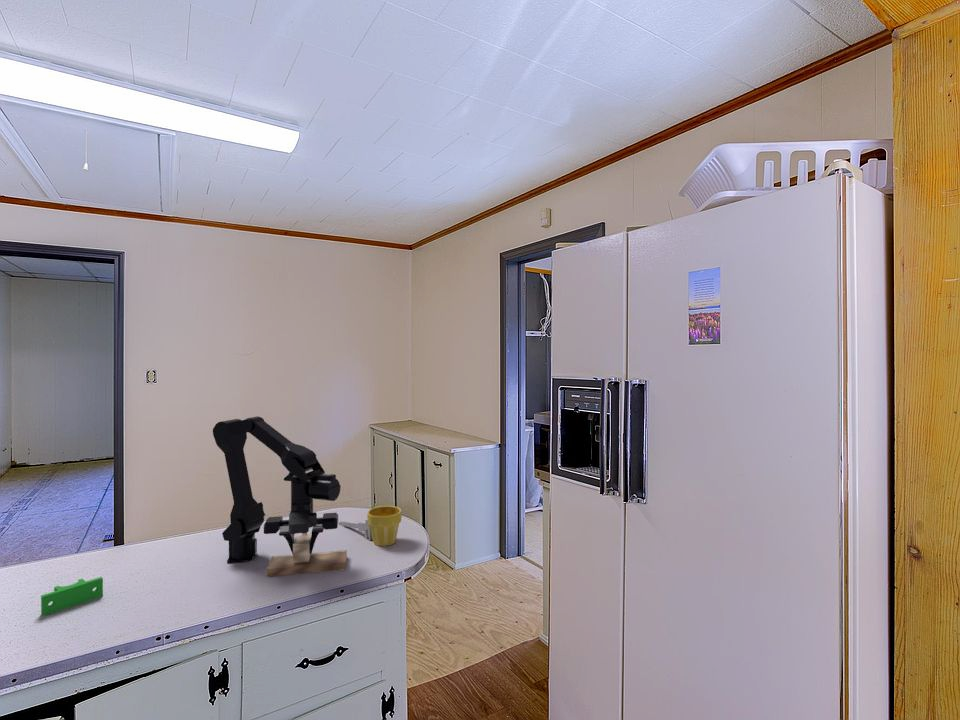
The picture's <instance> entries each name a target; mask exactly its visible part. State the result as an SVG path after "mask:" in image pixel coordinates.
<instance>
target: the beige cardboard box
mask: <svg viewBox="0 0 960 720" xmlns="http://www.w3.org/2000/svg"><path fill="white" fill-rule="evenodd" d="M310 543H311V534H308V532H307V533H304V534H303V533H301V535H295V537H294V543H293V554H292V555H293V563H300V562H309V559H310V555H311V554H310Z"/></svg>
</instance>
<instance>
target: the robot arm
mask: <svg viewBox="0 0 960 720" xmlns="http://www.w3.org/2000/svg"><path fill="white" fill-rule="evenodd" d="M248 434H250V435H252V436H253V437H254V438H255V439H257V441H259V442H260V443H261V444H263V445H264V446H266V447H267V448H268V449H270V451H272V452H273V453H274V454H275V455H277V456H278V457H279V458H280V462H281V464H282V466H283V467H284V468H285V470H287V471H288V474H287V475H286V476H284V478H283V481H286V482H290V511H289V514H288V519H283V516H282V515H279V516H269V517H268V518H267V519H265V516H266V513H265V511H264V504H263V502H257V500H256V499H254V495H253V492H252V486H251V482H250V477H249V471H248V465H247V461H246V456H245V455H246V454H245V451H244V448H245V445H246V442H247V438H248V436H247V435H248ZM212 436H213V438H214V441H215V444H216V446H217V447H218V448H219V449H220V450H221V452H222V453H223V454H224V458H225V463H226V469H227V473H228V479H229V484H230V489H231V495H232V499H233V500H232V501H233V504H232V507H231V508H232V509H231V511H230V514H229V516H230V525H228V526H227V527H226V528H225V529H224V530H223V531H222V537H223V538H222V539H223V540H224V541H226V542H227V541H228V558H227V560H226V563H239V562H240V563H241V562H251V561H253V560H254V557H255V556H256V555H257V552H258V538H256V533H259V532H260V529H261V527H262V525H263V534H264V535H269V534H270V535H272V534H277V533H278V532H279V533H278V535H279V536H281V537H284V538H285V540H286V542H287V543H288V546H289V549H290V552H291V555H293V543H294V540H295V535H296V534H302V533H303V534H304V533H307V534H308V532H309V530H310V528H312V530H311V534H310V535H311V543H310V554H311V553H313V550H314V547H315V543H316V540H317V538H318V536H319V534H320V533H323V532H324V530H335V529H338V526H339V524H338V523H339V514H338V513H337V512H324V513H323V514H322V517H318V513H317V512H314V500H321V501H328V502H334V501H336V500H337V499H338V498H339V496H340V494H341V484H340V481H339V480H338V479H337V475H336V474H334V473H332V474H327V473H326V472H325V469H324V468H323V467H322V465H321V463H320V461H319V460H318V459H317V454H316V452H315V451H314V450H311V449H309V448H308V447H306V446H304V445H300V444H298V443H294V442H292V441H291V440H289V439H288V438H287V437H285V436H284V435H283V434H282V433H281V432H279V431H278V430H276V429H275V428H274V427H273V426H272V425H271V424H268V423H267V422H266V421H265V419H264V417H262V416H252V417H251V416H250V417H247V418H245V419H243V420H241V419H240V418H234V419H228V420H222V421H218V422H217V423H216V424H215V425H214V427H212ZM265 520H266V521H265ZM263 523H264V524H263Z"/></svg>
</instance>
